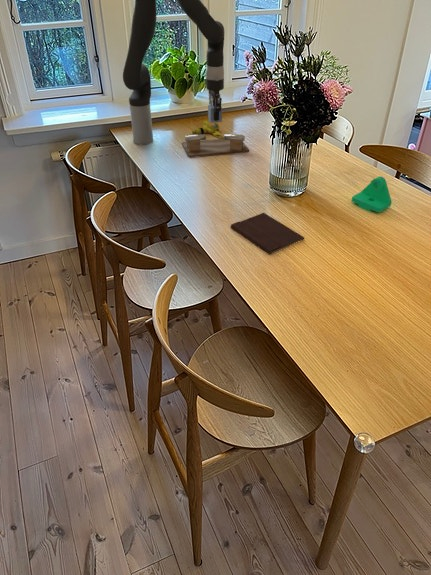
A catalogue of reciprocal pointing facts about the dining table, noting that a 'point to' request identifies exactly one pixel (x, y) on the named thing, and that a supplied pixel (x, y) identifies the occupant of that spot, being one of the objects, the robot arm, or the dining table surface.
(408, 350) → the dining table surface
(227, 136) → the shaft
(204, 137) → the shaft
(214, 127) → the sprinkler
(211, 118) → the block
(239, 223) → the notebook
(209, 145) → the base board
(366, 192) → the green triangle
